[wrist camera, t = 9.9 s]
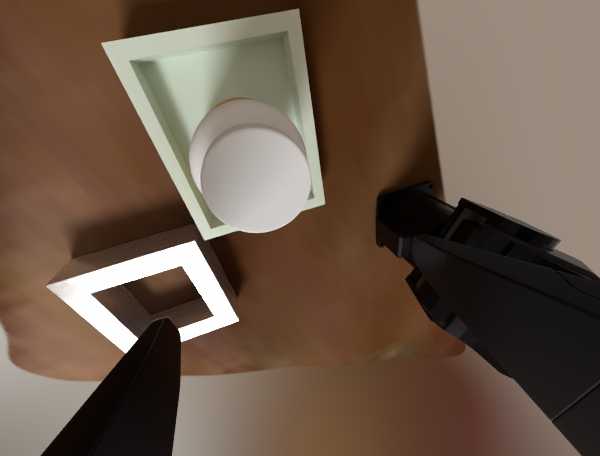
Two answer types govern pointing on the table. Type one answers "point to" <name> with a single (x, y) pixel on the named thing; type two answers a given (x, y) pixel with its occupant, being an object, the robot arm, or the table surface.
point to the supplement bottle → (250, 165)
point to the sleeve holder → (139, 263)
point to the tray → (216, 90)
